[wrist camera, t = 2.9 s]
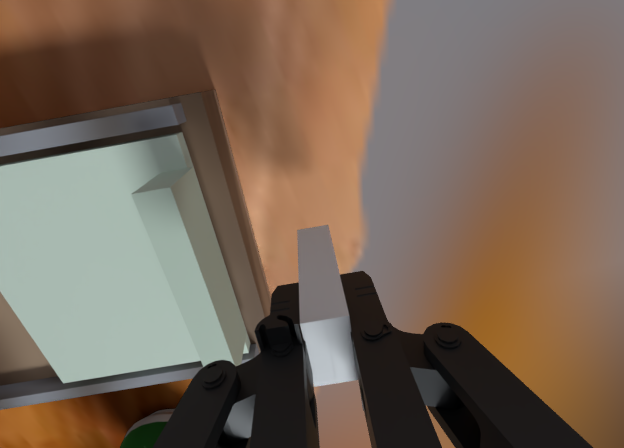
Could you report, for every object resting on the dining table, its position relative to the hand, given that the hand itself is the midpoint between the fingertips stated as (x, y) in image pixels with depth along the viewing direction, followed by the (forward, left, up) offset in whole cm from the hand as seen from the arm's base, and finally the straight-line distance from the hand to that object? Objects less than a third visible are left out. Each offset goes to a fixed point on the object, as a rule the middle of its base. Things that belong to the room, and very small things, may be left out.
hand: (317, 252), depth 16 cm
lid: (-11, 0, -2) cm, 11 cm away
